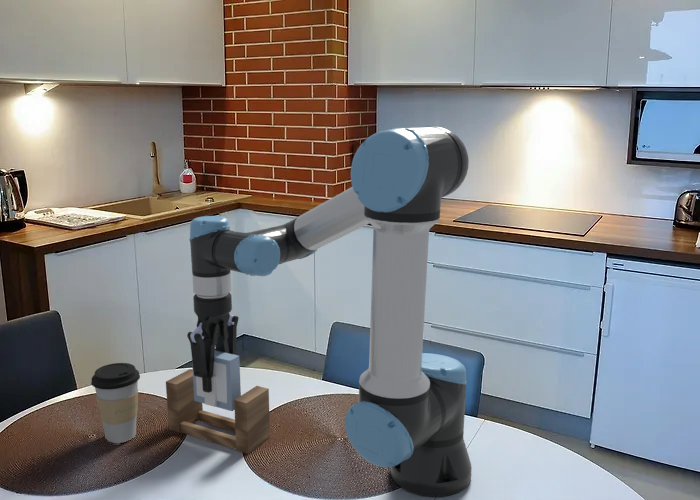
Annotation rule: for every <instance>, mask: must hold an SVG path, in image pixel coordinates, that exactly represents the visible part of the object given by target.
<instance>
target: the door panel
mask: <svg viewBox="0 0 700 500" xmlns="http://www.w3.org/2000/svg"><path fill="white" fill-rule="evenodd" d="M191 363H192V369H193V362H192V361H191ZM240 367H241V364H240V355H237V354H236V355H234V354H229V353H225V352H220V351H216V349H215V354H214V369H213V376H216V386H217V406H216V407H215V408H219V409H223V410H226V411H230V412H234V411H235V407H234V400H235V399H237V398H238V397H240V396H241V395H242V392H241V390H242V388H241V368H240ZM193 386H194V401H197V402H200V403H202V404H204V405H206V404H205V398H204V391H203V386H202V378H201V377H197V376H194V371H193Z"/></svg>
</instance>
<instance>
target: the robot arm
mask: <svg viewBox="0 0 700 500" xmlns="http://www.w3.org/2000/svg"><path fill="white" fill-rule="evenodd" d="M469 162H470V160H469V154H468V149H467V148H466V146H465V144H464V142H463V140H461V139H460V137H459V136H458V135H456V133H454V131H453V132H452V131H451V130H449V129H447V128H444V127H440V126H434V125H433V126H423V127H420V126H419V127H396V128H395V127H392V128H389V129H386V130H381V131H378V132H375V133H374V134H372V135H370V136H368V137H367V138H366V139H365V140H364V141H363V142H362V143H361V144H360V145H359V147H358V148H357V150H356V152H355V154H354V156H353V158H352V161H351V168H350V181H351V182H350V184H351V186H350V187H349V188H347V189H346V190H344V191H342V192H341V193H339V194H336V195H335V196H333V197H331V198H330V199H328V200H326V201H324V202H322V203H320V204H318V205H317V206H315V207H313V208H311V209H309V210H308V211H306V212H304V213H302V214H301V215H299V216H297V217H295V218H293V219H292V220H290V221H287V222H286V223H284V224H281V225H277V226H272V227H267V228H262V229H257V230H254V231H250V232H242V231H235V230H230V228H231V227H230V224H229V223H230V222H229V220H228V218H226V217H224V216H221V215H220V216H219V215H205V216H198V217H195V218H194V219H192V220H191V221H190V224H189V225H190V226H189V242H190V257H191V258H190V260H191V273H192V275H191V276H192V289H193V290H192V292H193V293H194V295H193V299H192V300H193V312H194V314H195V315H196V316H197V322H196V328H195V329H194V330H193V331H189V332H187V335H186V336H187V339H188V340H189V343H190V344H189V345H190V350H191V351H190V352H191V363H192V362H193V368H192V370H193V371H194V376H197V377H201V378H202V386H203V391H204V398H205V404H204V405H206V406H211V407H214V408H217V407H216V406H217V386H216V376H213V369H214V354H215V350H216V351H220V352H225V353H229V354H234V355H237V335H238V333H237V330H238V329H237V326H238V323H239V316H238V315H237V316H236V315H233V314H230V312H232V310H233V302H232V294H231V292H232V274H231V273H232V272H237V273H242V274H244V275H247V276H251V277H252V276H253V277H256V276H257V277H266V276H269V275H271V274H272V273H273V272H274V270H276V269H277V268H278V265H281V264H284V263H288V262H292V261H295V260H301V259H304V258H308V257H309V256H311V255H314V254H315V253H316V252H317V251H318V249H320V248H322V247H324V246H326V245H328V244H331V243H332V242H335V241H337V240H339V239H340V238H343V237H345V236H347V235H350V233H353V232H355V231H357V230H359V229H360V228H363V227H365V226H367V225H369V224H370V226H372V227H373V233H372V235H373V236H372V238H373V239H372V261H371V263H372V268H371V295H370V298H371V299H370V300H371V301H370V325H369V326H370V329H369V331H370V332H369V354H368V356H369V358H368V360H369V361H368V362H369V363H368V368H367V369H365V370H364V371H363V372H362V373H361V374H360V376H359V379H358V380H359V381H358V383H359V384H358V401H357V402H354V403H353V404H352V405H350V407H349V409H348V410H347V412H346V414H345V418H344V430H345V433H346V436H347V439H348V441H349V443H350V445H351V446H352V447H353V448H354V449H355V450H356V453H357V454H358V455H359V456H360V457H362V459H364V460H365V461H367V462H369V463H370V464H372V465H374V466H377V467H381V468H390V476H391V479H392V480H393V481H394V482H395V483H396V484H397V486H399V487H400V488H402V489H404V490H406V491H408V492H410V493H413V494H415V495H416V494H417V495H419V496H424V497H448V496H450V495H455V494H457V493H460V492H462V491H464V490H465V489H466V488H467V487H468V486H469V484H470V483H471V481H472V480H471V479H472V462H471V459H470V456H469V453H468V449H467V446H466V442H465V440H464V430H465V413H466V411H465V410H466V409H465V408H466V397H467V395H466V394H467V385H468V381H467V369H466V367H465V365H464V364H463V363H462V362H460V360H458V359H456V358H453V357H451V356H447V355H443V354H437V353H428V352H427V353H425V352H423V350H424V349H423V348H424V347H423V346H424V328H425V325H424V324H425V313H426V312H425V311H426V308H425V307H426V292H427V277H428V276H427V273H428V272H427V271H428V260H429V259H428V256H429V254H428V253H429V240H430V239H429V236H430V230H431V229H432V227H434V226H435V224H437V223H438V222H439V221H440V219H441V201H442V198H444V197H447V196H449V195H450V194H453V193H454V192H456V190H457V189H459V187H461V186H462V185H463V183H464V181H465V178H466V177H467V176H468V175H467V174H468V170H469ZM231 271H232V272H231Z"/></svg>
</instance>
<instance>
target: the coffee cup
mask: <svg viewBox="0 0 700 500" xmlns="http://www.w3.org/2000/svg"><path fill="white" fill-rule="evenodd" d="M140 378H141V375H140V372H139V370H138V369H137V368H136V366H135V365H134V364H131V363H127V362H116V363H115V362H114V363H109V364H105V365H102V366H100V367H98V368H97V369H95V371H94V374H93V375H92V377H91V381H90V383H91V386H92V387H94V390H95V398H96V403H97V407H98V412H99V418H100V421H101V422H102V427H103V432H104V436H105V440H106V439H107V440H109V441H111V442H114V443H121V442H126V441H128V440H131V439H132V438H134V437H135V438H136V436H137V416H138V410H139V409H138V406H139V405H138V403H139V401H138V400H139V388H138V386H139V385H138V383H139V382H138V381H139V380H140ZM135 435H136V436H135ZM135 438H134V439H135ZM132 440H133V439H132ZM132 440H131V441H132Z"/></svg>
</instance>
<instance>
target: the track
mask: <svg viewBox="0 0 700 500" xmlns="http://www.w3.org/2000/svg"><path fill="white" fill-rule="evenodd" d="M165 390H166V405H167V406H166V407H167V421H168V422H167V423H168V430H169V431H172V432H173V431H174V432H176V433H182V434H184V435H185V434H186V435H189V436H193V437H195V438H198V439H200V440H201V439H202V440H205V441H208V442H211V443H215V444H218V445H220V446H221V445H222V446H224V447H228V448H231V449H235V451H237V452H239V453H244V454H247V455H249V454H250V453H252V452H253V451H255V450H256V449H257V448H258V447H259V446H261V445H262V444H264V443H265V442H266V441H267V440H269V439H270V438H271V427H270V426H271V423H270V421H271V420H270V391H269V390H270V388H267V387H264V386H260V385H255V386H254V387H253V388H251V389H250V390H247V391H246V392H245V393H243V394H241V396H240V397H238V398H237V399H235V400H234V407H235V410H234V418H231V417H228V416H223V415H220V414H216V413H213V412H210V411H206V410H203V403H200V402H197V401H194V386H193V368H192V369H191V368H189V369H187V370H185V371H184V372H181V373H180V374H178V375H176V376H174V377H172V378H170V379H168V380H166V381H165ZM197 422H202V423H205V424H209V425H211V426H212V425H213V426H215V427H218V428H222V429H225V430H228V431H231V432H232V431H233V432H235V435H232V434H228V433H225V432H222V431H218V430H215V429H213V428H212V429H211V428H208V427H205V426H202V425H198V424H195V423H197ZM269 437H270V438H269ZM268 438H269V439H268Z"/></svg>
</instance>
